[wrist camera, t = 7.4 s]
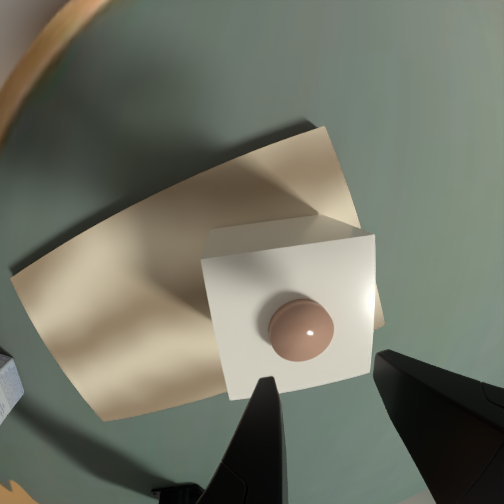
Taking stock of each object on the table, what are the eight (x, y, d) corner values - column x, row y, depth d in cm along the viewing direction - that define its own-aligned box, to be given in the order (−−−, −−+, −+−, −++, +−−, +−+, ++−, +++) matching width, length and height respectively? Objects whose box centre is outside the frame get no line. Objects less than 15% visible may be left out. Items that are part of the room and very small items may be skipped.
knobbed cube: (322, 214, 17) (382, 237, 10) (327, 314, 18) (374, 379, 11) (210, 229, 16) (199, 264, 9) (228, 331, 18) (230, 409, 11)
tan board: (378, 318, 20) (409, 348, 16) (106, 414, 20) (92, 449, 16) (319, 128, 17) (347, 113, 12) (17, 274, 17) (-18, 294, 13)
